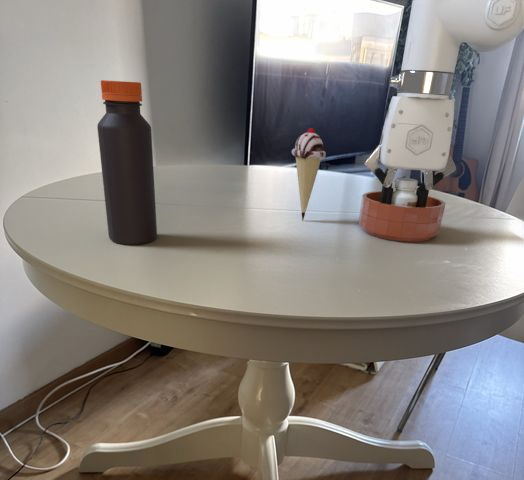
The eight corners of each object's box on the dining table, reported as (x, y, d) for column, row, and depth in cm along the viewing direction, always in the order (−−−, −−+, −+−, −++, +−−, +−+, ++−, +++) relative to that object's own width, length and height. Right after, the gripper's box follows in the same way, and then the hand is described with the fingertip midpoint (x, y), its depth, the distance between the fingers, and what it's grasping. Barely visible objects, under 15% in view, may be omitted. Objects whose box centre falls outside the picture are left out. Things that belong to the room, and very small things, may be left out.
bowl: (426, 225, 87) (433, 193, 84) (447, 245, 75) (456, 210, 72) (353, 220, 87) (358, 189, 84) (363, 240, 75) (368, 204, 73)
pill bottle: (410, 232, 78) (420, 182, 74) (383, 228, 79) (391, 179, 76) (412, 226, 82) (422, 179, 78) (386, 223, 83) (394, 176, 79)
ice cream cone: (314, 226, 82) (324, 130, 74) (282, 222, 83) (289, 127, 76) (321, 219, 86) (331, 128, 79) (291, 215, 88) (298, 125, 81)
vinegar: (146, 230, 74) (137, 82, 64) (164, 242, 69) (157, 83, 59) (102, 235, 70) (85, 79, 61) (118, 247, 65) (102, 80, 56)
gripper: (371, 83, 68) (352, 214, 76) (491, 90, 67) (459, 221, 76) (363, 84, 74) (347, 204, 83) (473, 90, 74) (445, 210, 83)
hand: (401, 211), depth 79 cm, fingers closed on pill bottle, 4 cm apart
